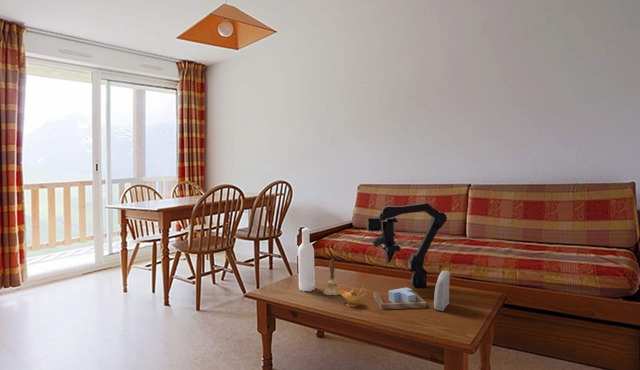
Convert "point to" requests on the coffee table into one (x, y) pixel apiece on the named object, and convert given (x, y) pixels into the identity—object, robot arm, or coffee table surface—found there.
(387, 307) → the bay
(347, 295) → the magic lamp
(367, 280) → the coffee table surface
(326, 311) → the coffee table surface
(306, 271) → the bottle
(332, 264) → the hand bell
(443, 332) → the coffee table surface
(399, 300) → the grey stepped block
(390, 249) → the robot arm
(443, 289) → the decorative stone
